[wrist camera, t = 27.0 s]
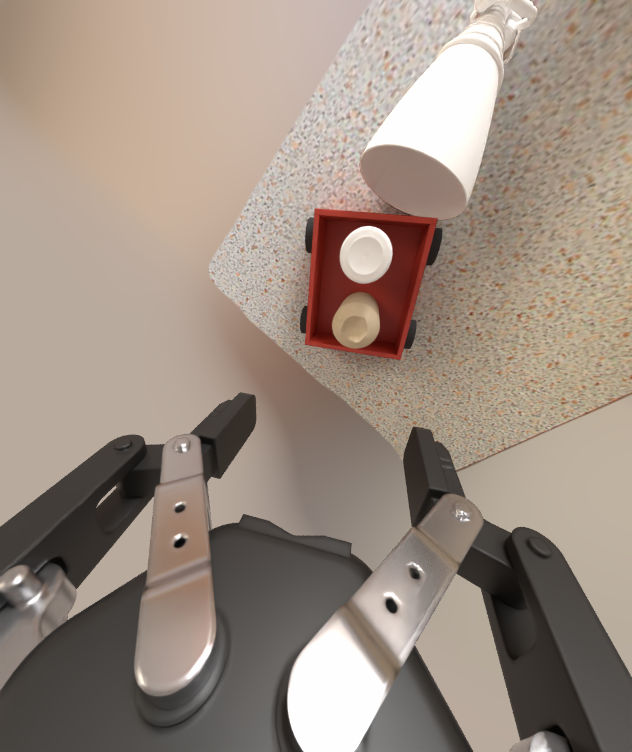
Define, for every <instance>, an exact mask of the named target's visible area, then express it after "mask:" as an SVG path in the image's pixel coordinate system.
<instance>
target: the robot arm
mask: <svg viewBox="0 0 632 752" xmlns="http://www.w3.org/2000/svg"><path fill="white" fill-rule="evenodd" d="M255 424H256V398H255V395H251V394H246V393H239V394H238V395H237V396H236V397H235V398H234V399H233V400H227V401H225V402H223V403H221V404H219V405H218V406H217V407H216V408H215V409H214V410H213V412H211V413H210V414H209V416H208V417H206V418H205V419H204V420H203V421H202V422H201V423H200V424H199V425H198V426H197V427H196V428H195V429H194V430H193V431H192V432H191V433H190V434H183V435H178V436H176V437H173V438H172V439H170V440H169V441H167V442H166V443H165V444H162V445H161V444H160V445H146V444H145V441H144V438H143V437H141V436H139V435H126V436H122V437H119V438H117V439H114V440H113V441H111V442H109V443H108V444H107V445H106V446H104V447H103V448H101V449H100V450H99V451H98V452H96V453H95V454H94V455H92V456H91V457H90V458H88V459H87V460H86V461H85V462H83V463H82V464H81V465H79V466H78V467H77V468H76V469H74V470H73V471H72V472H70V473H69V474H68V475H67V476H65V477H64V478H63V479H61V480H60V481H59V482H58V483H56V484H55V485H54V486H53V487H51V488H50V489H49V490H47V491H46V492H45V493H43V494H42V495H41V496H40V497H38V498H37V499H36V500H34V501H33V502H32V503H30V504H29V505H28V506H27V507H25V508H24V509H23V510H22V511H20V512H19V513H18V514H16V515H15V516H14V517H12V518H11V519H10V520H9V521H7V522H6V523H5V524H3V525H2V526H1V527H0V752H473V750H472V748H471V747H470V745H469V743H468V741H467V739H466V737H465V735H464V734H463V732H462V730H461V728H460V726H459V725H458V723H457V721H456V719H455V717H454V716H453V714H452V712H451V710H450V708H449V706H448V705H447V703H446V701H445V699H444V697H443V696H442V694H441V692H440V690H439V688H438V687H437V685H436V683H435V681H434V679H433V677H432V676H431V674H430V672H429V670H428V668H427V666H426V665H425V663H424V661H423V659H422V657H421V655H420V654H419V652H418V650H417V648H416V646H415V644H416V642H417V640H418V639H419V637H420V635H421V633H422V631H423V630H424V628H425V626H426V625H427V623H428V621H429V619H430V618H431V616H432V614H433V612H434V611H435V609H436V607H437V606H438V604H439V602H440V600H441V598H442V597H443V595H444V593H445V591H446V590H447V588H448V586H449V585H450V583H451V581H452V579H453V578H454V576H455V574H458V575H460V576H461V577H463V578H465V579H467V580H468V581H470V582H471V583H473V584H475V585H476V586H478V587H480V588H481V591H482V595H483V599H484V603H485V606H486V610H487V614H488V618H489V622H490V626H491V630H492V633H493V637H494V641H495V645H496V649H497V653H498V656H499V660H500V664H501V668H502V672H503V676H504V679H505V683H506V687H507V691H508V695H509V698H510V702H511V706H512V710H513V714H514V717H515V721H516V725H517V729H518V733H519V737H520V742H518V743H516V744H514V745H513V746H512V748H511V749H510V752H632V677H631V676H630V673H629V672H628V670H627V668H626V666H625V665H624V663H623V661H622V659H621V657H620V656H619V654H618V652H617V650H616V649H615V647H614V645H613V643H612V641H611V640H610V638H609V636H608V634H607V633H606V631H605V629H604V627H603V625H602V624H601V622H600V620H599V618H598V617H597V615H596V613H595V611H594V609H593V608H592V606H591V604H590V602H589V600H588V599H587V597H586V595H585V593H584V592H583V590H582V588H581V586H580V584H579V583H578V581H577V579H576V577H575V576H574V574H573V572H572V570H571V568H570V567H569V565H568V563H567V561H566V560H565V558H564V556H563V555H562V553H561V552H560V550H559V549H558V548H557V547H556V546H555V545H554V544H553V543H552V542H551V541H550V540H549V539H547V538H546V537H545V536H543V535H541V534H540V533H538V532H537V531H534V530H532V529H529V528H526V527H518V528H515V529H514V530H513V531H512V533H510V532H508V531H506V530H504V529H502V528H499V527H498V526H496V525H494V524H491V523H490V522H488V521H486V520H485V519H483V516H482V514H481V512H480V511H479V510H478V508H477V507H476V506H475V505H474V504H473V503H472V502H471V501H469V500H468V499H466V497H465V495H464V492H463V489H462V486H461V484H460V481H459V478H458V476H457V473H456V470H455V467H454V465H453V463H452V459H451V456H450V454H449V451H448V450H447V449H446V448H445V447H444V446H443V444H442V443H440V442H435V441H434V438H433V435H432V432H431V430H429V429H424V428H419V427H413V428H412V431H411V434H410V437H409V440H408V443H407V446H406V449H405V452H404V459H403V463H404V471H405V478H406V486H407V493H408V501H409V509H410V516H411V524H412V528H411V529H410V530H409V531H408V532H407V533H406V535H405V536H404V537H403V538H402V539H401V541H400V542H399V543H398V544H397V545H396V546H395V547H394V549H393V550H392V551H391V552H390V553H389V555H388V556H387V557H386V558H385V559H384V560H383V562H382V563H381V564H380V565H379V566H378V567H377V569H376V570H375V571H374V572H373V571H372V570H370V568H369V567H368V566H367V565H366V564H365V563H364V562H363V561H362V560H360V559H359V558H358V557H356V556H355V555H353V554H351V545H352V544H351V543H349V542H345V541H342V540H338V539H334V538H330V537H327V536H294V535H292V534H290V533H288V532H286V531H285V530H283V529H282V528H280V527H278V526H276V525H275V524H273V523H271V522H270V521H267V520H264V519H260V518H256V517H252V516H249V515H245V514H243V516H242V518H241V520H240V522H239V523H231V524H226V525H222V526H219V527H217V528H214V529H212V522H211V513H210V505H209V496H208V486H207V482H208V480H209V479H210V478H211V477H214V478H219V479H220V478H221V477H222V475H223V474H224V472H225V471H226V469H227V468H228V466H229V465H230V463H231V462H232V461H233V459H234V458H235V456H236V455H237V453H238V452H239V450H240V449H241V447H242V446H243V445H244V443H245V442H246V440H247V438H248V437H249V436H250V434H251V432H252V431H253V430H254V427H255ZM115 485H116V487H117V488H116V489H115V490H114V491H113V492H112V493H111V494H110V495H109V496H108V497H107V498H106V499H105V500H104V501H103V502H102V503H101V504H100V505H99V506H98V507H97V505H98V503H99V501H100V500H101V499H102V498H103V497H104V496H105V495H106V494H107V493H108V492H109V491H110V490H111V489H112V488H113V487H114V486H115ZM152 497H154V506H153V517H152V528H151V538H150V549H149V559H148V569H147V570H146V571H145V572H143V573H141V574H140V575H138V576H137V577H135V578H133V579H132V580H130V581H129V582H127V583H126V584H124V585H123V586H121V587H119V588H118V589H116V590H114V591H113V592H111V593H110V594H108V595H107V596H105V597H103V598H102V599H100V600H99V601H97V602H96V603H94V604H93V605H91V606H89V607H88V608H86V609H85V610H83V611H81V612H80V613H78V614H77V615H75V616H73V617H72V618H70V619H69V620H67V619H68V613H69V611H70V610H71V609H72V607H73V605H74V602H75V599H76V589H77V588H78V587H79V586H80V584H81V583H82V582H83V581H84V579H85V578H86V577H87V576H88V575H89V574H90V572H91V571H92V570H93V569H94V568H95V566H96V565H97V564H98V563H99V562H100V560H101V559H102V558H103V557H104V555H105V554H106V553H107V552H108V551H109V549H110V548H111V547H112V546H113V545H114V543H115V542H116V541H117V540H118V538H119V537H120V536H121V535H122V534H123V533H124V531H125V530H126V529H127V528H128V526H129V525H130V524H131V523H132V522H133V520H134V519H135V518H136V517H137V516H138V514H139V513H140V512H141V511H142V509H143V508H144V507H145V506H146V505H147V504H148V502H149V501H150V500H151V499H152ZM96 507H97V508H96Z"/></svg>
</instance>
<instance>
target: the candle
mask: <svg viewBox="0 0 632 752" xmlns="http://www.w3.org/2000/svg"><path fill="white" fill-rule="evenodd" d="M332 329H333V333H334V336H335V337H336V339H337V340H338V341H339V342H340V343H341V344H342V345H344V346H346V347H349V348H354V349H357V348H363V347H365V346H368V345H369V344H371V343H372V342H373V341H374V340H375V338H376V337H377V335H378V333H379V329H380V319H379V307H378V303H377V301H376V300H375V298H374V297H373V296H371V295H370V294H368V293H365V292H355V293H353V294H351V295H349V296H348V297H347V298H346V299H345V300H344V301H343V303H342V304H341V306H340V307H339V309H338V311H337V312H336V314H335V316H334V318H333V322H332Z"/></svg>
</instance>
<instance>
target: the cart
mask: <svg viewBox="0 0 632 752" xmlns="http://www.w3.org/2000/svg"><path fill="white" fill-rule="evenodd" d="M437 220H438V218H431V217H418V216H405V215H392V214H380V213H367V212H354V211H341V210H328V209H315V212H314V226H313V240H312V254H311V268H310V282H309V296H308V310H307V324H306V338H305V345H310V346H316V347H322V348H329V349H335V350H341V351H348V352H354V353H360V354H366V355H373V356H379V357H385V358H392V359H398V360H401V356H402V352H403V349H404V345H405V341H406V337H407V333H408V330H409V326H410V322H411V318H412V314H413V311H414V307H415V303H416V299H417V296H418V292H419V288H420V284H421V280H422V277H423V273H424V269H425V265H426V261H427V258H428V254H429V250H430V246H431V243H432V239H433V235H434V231H435V227H436V224H437ZM365 226H372V227H376V228H378V229H380V230H382V231H383V232H384V233H385V234H386V235H387V236H388V238H389V240H390V242H391V245H392V260H391V264H390V266H389V268H388V270H387V271H386V272H385V274H384V275H383V276H382V277H381V278H379V279H378V280H376V281H374V282H371V283H367V284H361V283H357V282H354V281H352V280H351V279H349V278H348V277H347V276H346V275H345V273H344V272H343V270H342V267H341V264H340V250H341V247H342V244H343V242H344V241H345V239H346V238H347V237H348V235H349V234H350V233H352V232H353V231H354V230H356V229H358V228H361V227H365ZM355 292H365V293H368V294H370V295H371V296H373V297H374V298H375V300H376V301H377V303H378V307H379V319H380V329H379V333H378V335H377V337H376V338H375V340H374V341H373V342H372V343H371V344H369V345H368V346H365V347H363V348H357V349H354V348H349V347H346V346H344V345H342V344H341V343H340V342H339V341H338V340H337V339H336V337H335V336H334V333H333V329H332V322H333V318H334V316H335V314H336V312H337V311H338V309H339V307H340V306H341V304H342V303H343V301H344V300H345V299H346V298H347V297H348V296H349V295H351V294H353V293H355Z"/></svg>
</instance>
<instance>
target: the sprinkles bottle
mask: <svg viewBox="0 0 632 752" xmlns="http://www.w3.org/2000/svg"><path fill="white" fill-rule="evenodd" d="M391 260H392V245H391V242H390V240H389V238H388V236H387V235H386V234H385V233H384V232H383V231H382V230H380V229H378V228H376V227H372V226H365V227H361V228H358V229H356V230H354V231H353V232H352V233H350V234H349V235H348V237H347V238H346V239H345V241H344V242H343V244H342V247H341V250H340V264H341V267H342V270H343V272H344V273H345V275H346V276H347V277H348V278H349V279H351V280H352V281H354V282H357V283H361V284H367V283H371V282H374V281H376V280H378V279H379V278H381V277H382V276H383V275H384V274H385V272H386V271H387V270H388V268H389V266H390V264H391Z"/></svg>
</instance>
